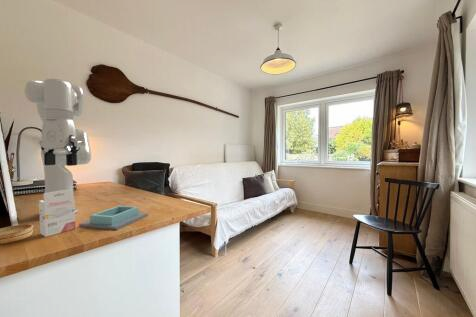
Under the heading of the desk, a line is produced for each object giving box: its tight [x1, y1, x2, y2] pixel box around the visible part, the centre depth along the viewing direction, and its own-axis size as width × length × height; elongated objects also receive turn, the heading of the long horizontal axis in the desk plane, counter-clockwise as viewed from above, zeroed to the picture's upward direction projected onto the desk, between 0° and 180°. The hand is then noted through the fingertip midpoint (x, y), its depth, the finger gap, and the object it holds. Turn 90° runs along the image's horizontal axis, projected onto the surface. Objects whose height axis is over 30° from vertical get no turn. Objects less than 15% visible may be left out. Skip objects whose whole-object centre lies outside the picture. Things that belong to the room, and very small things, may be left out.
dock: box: [78, 205, 149, 231], centre depth 83 cm, size 17×17×4 cm
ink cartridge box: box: [38, 189, 76, 237], centre depth 72 cm, size 9×5×15 cm, turn 148°
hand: (60, 165), depth 72 cm, fingers open, 9 cm apart
